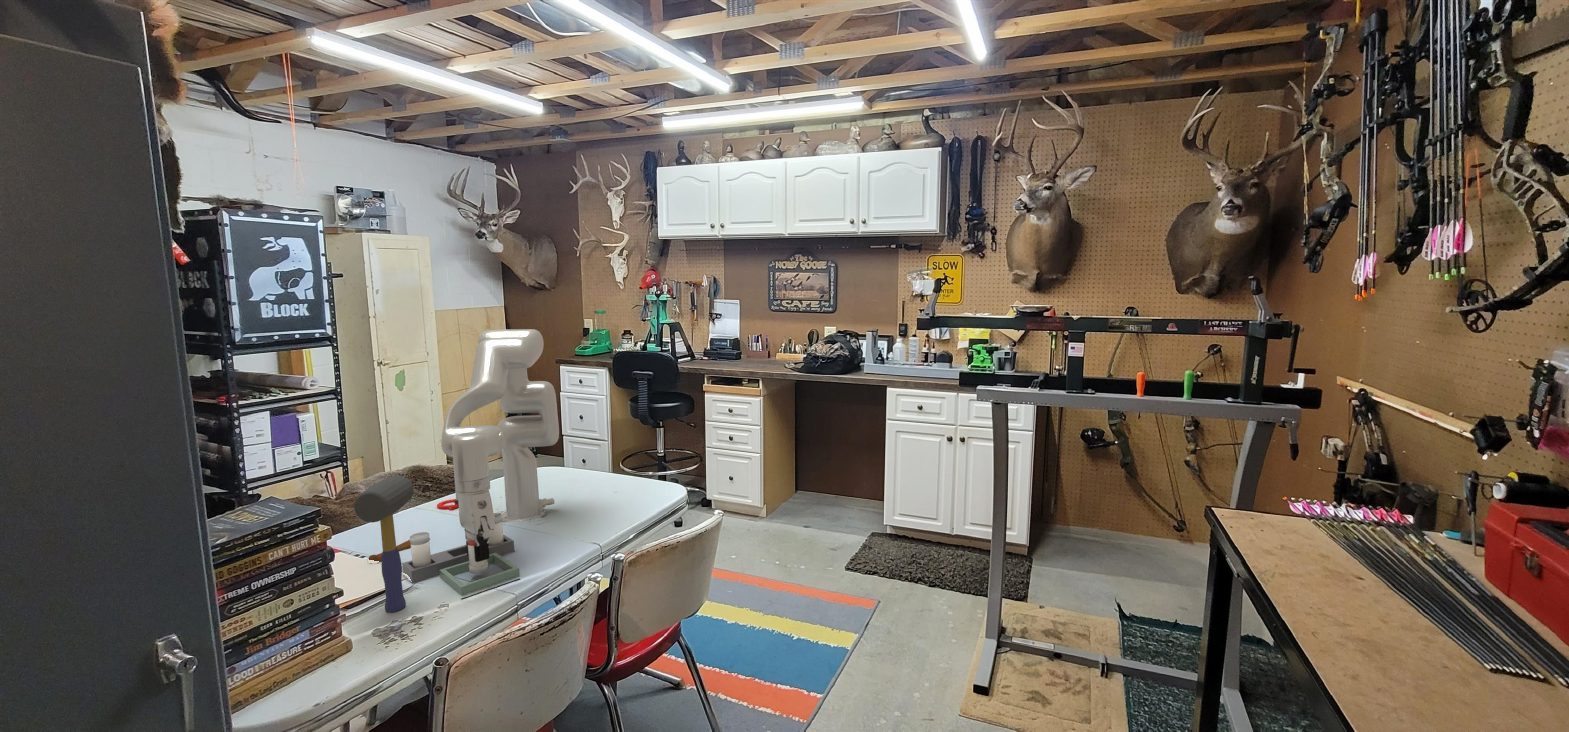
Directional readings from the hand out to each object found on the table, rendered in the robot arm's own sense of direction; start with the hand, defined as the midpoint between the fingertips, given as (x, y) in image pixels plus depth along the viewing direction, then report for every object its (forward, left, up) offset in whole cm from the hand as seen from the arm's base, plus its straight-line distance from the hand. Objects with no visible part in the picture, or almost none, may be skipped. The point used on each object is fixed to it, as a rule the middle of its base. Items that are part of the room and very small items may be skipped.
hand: (478, 556), depth 159 cm
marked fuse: (0, 0, -3) cm, 3 cm away
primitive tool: (+8, -35, -7) cm, 36 cm away
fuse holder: (0, -12, -6) cm, 14 cm away
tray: (0, 0, -6) cm, 6 cm away
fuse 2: (-9, -12, -5) cm, 16 cm away
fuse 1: (+9, -12, -5) cm, 16 cm away
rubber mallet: (+19, +2, -6) cm, 20 cm away
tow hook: (-16, -63, -6) cm, 65 cm away
